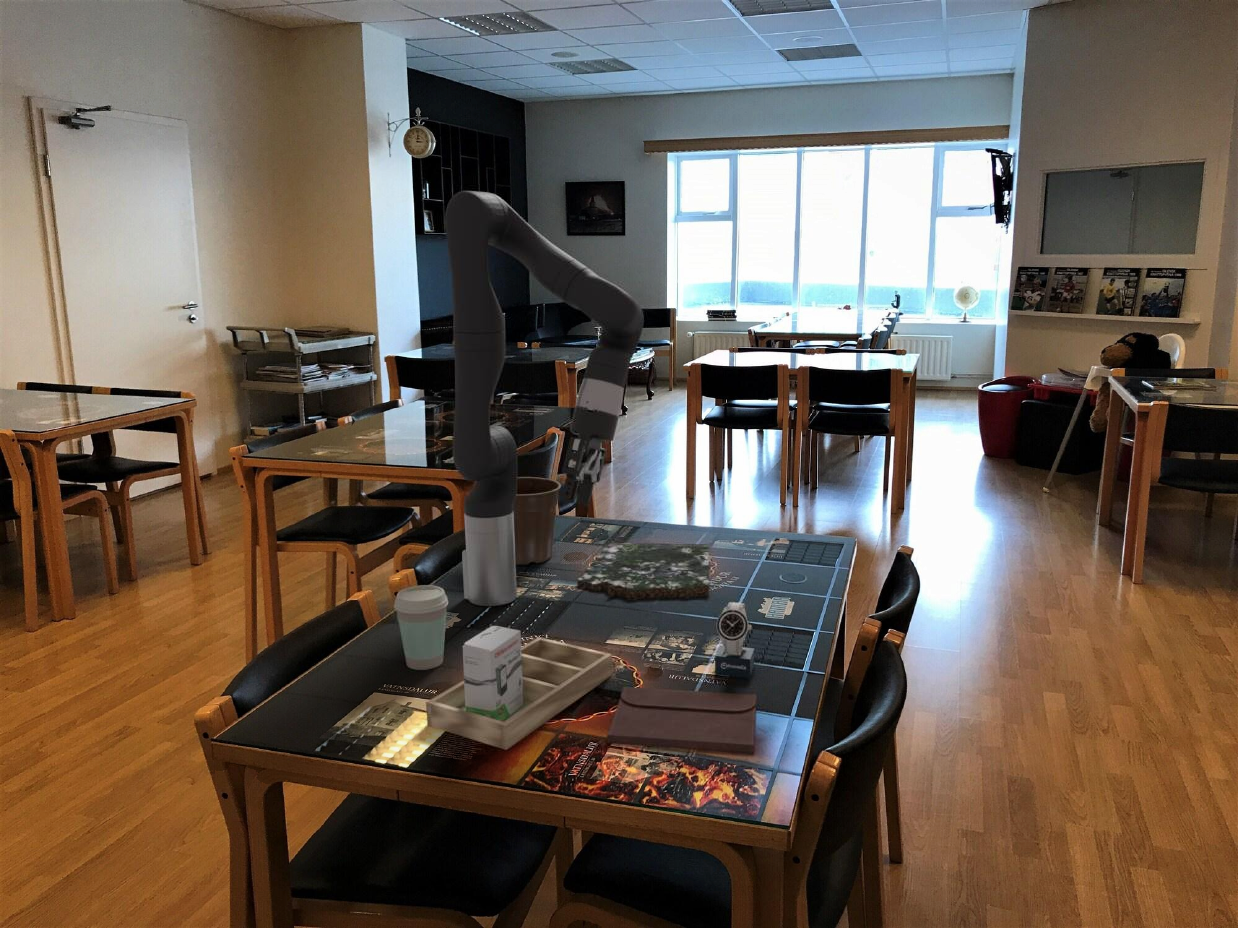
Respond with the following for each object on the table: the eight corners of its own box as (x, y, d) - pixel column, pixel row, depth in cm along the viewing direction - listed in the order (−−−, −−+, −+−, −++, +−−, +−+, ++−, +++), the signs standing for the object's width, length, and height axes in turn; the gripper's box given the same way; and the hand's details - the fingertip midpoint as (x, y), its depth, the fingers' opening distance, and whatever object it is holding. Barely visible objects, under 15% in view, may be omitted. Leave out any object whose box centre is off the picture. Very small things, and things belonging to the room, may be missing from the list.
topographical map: (709, 551, 217) (709, 538, 216) (708, 603, 185) (708, 588, 184) (593, 549, 219) (593, 536, 218) (573, 601, 187) (572, 586, 187)
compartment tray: (427, 725, 138) (426, 702, 137) (539, 656, 161) (538, 637, 160) (506, 749, 131) (505, 725, 130) (612, 674, 153) (611, 654, 153)
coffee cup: (460, 655, 162) (457, 586, 159) (434, 676, 154) (430, 604, 151) (415, 649, 164) (411, 581, 162) (387, 669, 156) (382, 598, 154)
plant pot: (571, 548, 219) (569, 478, 215) (550, 571, 203) (548, 495, 200) (502, 544, 222) (499, 475, 219) (476, 566, 207) (473, 492, 204)
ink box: (494, 730, 136) (490, 650, 133) (464, 723, 138) (460, 645, 135) (525, 704, 143) (522, 628, 141) (495, 698, 145) (492, 623, 143)
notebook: (753, 757, 129) (754, 743, 129) (606, 746, 133) (606, 733, 132) (756, 705, 144) (756, 692, 143) (623, 697, 147) (623, 684, 147)
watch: (712, 679, 151) (713, 612, 149) (721, 658, 159) (722, 594, 157) (748, 683, 150) (749, 615, 148) (756, 662, 157) (757, 597, 155)
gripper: (588, 411, 172) (566, 501, 171) (564, 398, 158) (540, 495, 158) (628, 420, 170) (606, 511, 169) (607, 407, 156) (583, 506, 156)
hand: (574, 503), depth 164 cm, fingers open, 8 cm apart
